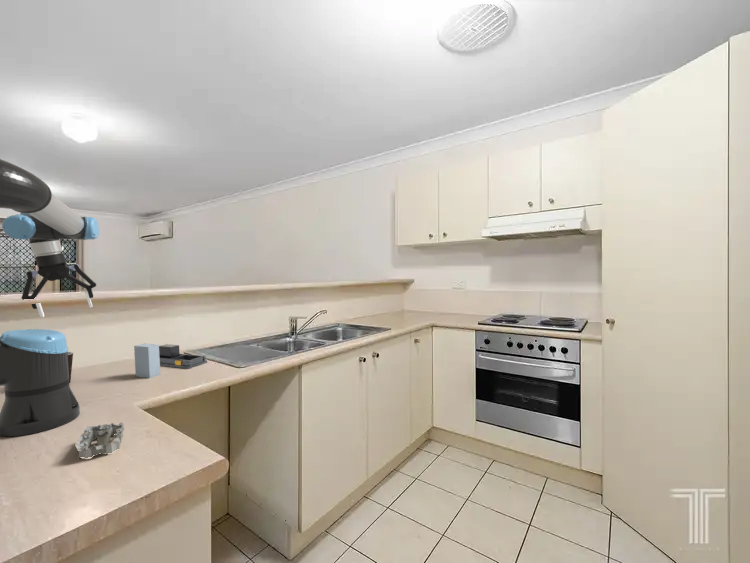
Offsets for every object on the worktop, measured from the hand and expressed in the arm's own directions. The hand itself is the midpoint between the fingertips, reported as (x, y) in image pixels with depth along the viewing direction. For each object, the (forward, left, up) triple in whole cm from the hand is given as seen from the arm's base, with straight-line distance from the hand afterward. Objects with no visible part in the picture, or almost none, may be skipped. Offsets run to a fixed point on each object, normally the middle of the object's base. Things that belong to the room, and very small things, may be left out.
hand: (67, 311), depth 126 cm
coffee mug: (-8, -7, -23) cm, 26 cm away
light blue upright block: (+8, -29, -23) cm, 38 cm away
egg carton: (-31, -66, -24) cm, 77 cm away
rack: (+23, -26, -23) cm, 41 cm away
